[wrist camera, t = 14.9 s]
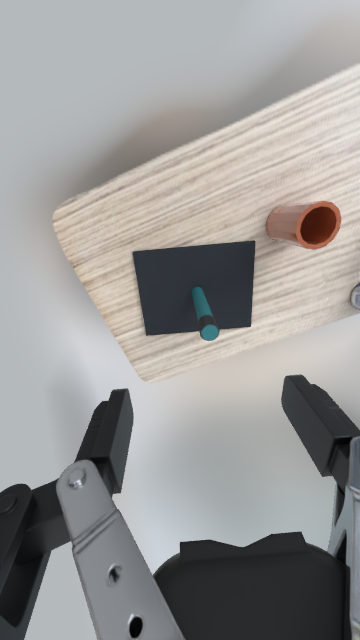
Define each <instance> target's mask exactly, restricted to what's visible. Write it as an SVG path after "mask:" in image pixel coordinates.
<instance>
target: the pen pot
mask: <svg viewBox="0 0 360 640" xmlns="http://www.w3.org/2000/svg"><path fill="white" fill-rule="evenodd" d="M340 224H341V215H340V211H339V209H338V208H337V207H336V206H335V205H334V204H333V203H332V202H326V201H316V202H306V203H296V204H286V205H282V206H279V207H277V208H276V209H274V210H273V211H272V212H271V213H270V215H269V217H268V219H267V222H266V230H267V233H268V235H269V237H270V238H272V239H273V240H275V241H278V242H282V243H286V244H290V245H294V246H298V247H302V248H307V249H318V248H321V247H324V246H326V245H327V244H328V243H329V242H331V241H332V240H333V239H334V238H335V236H336V234H337V233H338V231H339V229H340Z"/></svg>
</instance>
